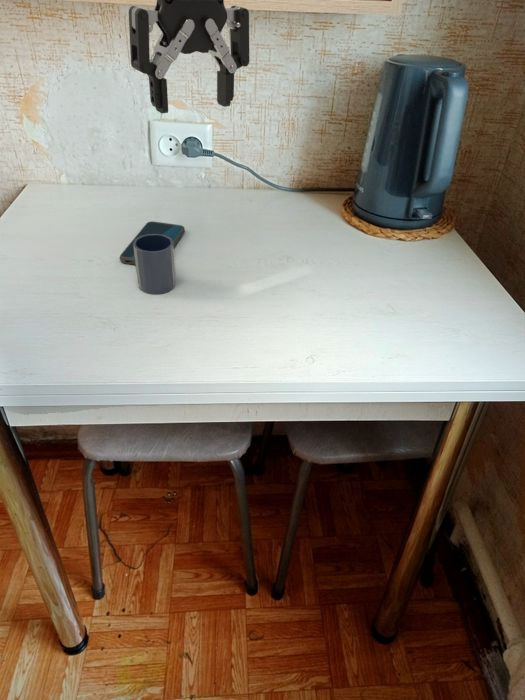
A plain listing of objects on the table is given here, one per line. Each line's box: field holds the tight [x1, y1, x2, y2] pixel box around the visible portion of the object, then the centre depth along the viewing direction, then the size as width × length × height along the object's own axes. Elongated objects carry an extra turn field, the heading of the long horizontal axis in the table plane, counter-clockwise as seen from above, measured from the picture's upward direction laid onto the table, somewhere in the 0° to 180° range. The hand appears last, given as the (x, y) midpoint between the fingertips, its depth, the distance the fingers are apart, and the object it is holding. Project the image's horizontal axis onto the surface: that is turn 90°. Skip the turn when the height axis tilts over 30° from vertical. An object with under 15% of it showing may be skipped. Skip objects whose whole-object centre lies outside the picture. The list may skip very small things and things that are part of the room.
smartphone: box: [119, 220, 185, 266], centre depth 92 cm, size 8×15×1 cm, turn 170°
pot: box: [133, 234, 177, 295], centre depth 81 cm, size 6×6×8 cm
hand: (193, 108), depth 63 cm, fingers open, 8 cm apart
